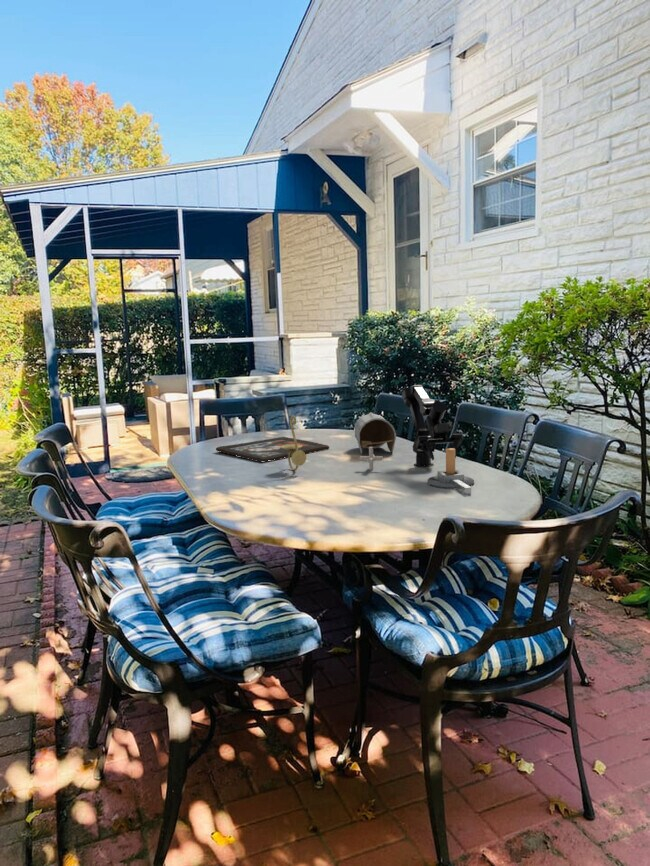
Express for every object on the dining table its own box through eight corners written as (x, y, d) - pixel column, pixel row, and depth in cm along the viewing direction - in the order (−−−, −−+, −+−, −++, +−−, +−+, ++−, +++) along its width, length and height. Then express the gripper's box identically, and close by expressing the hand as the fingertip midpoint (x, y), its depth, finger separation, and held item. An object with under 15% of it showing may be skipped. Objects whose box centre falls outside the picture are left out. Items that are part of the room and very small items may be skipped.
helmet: (398, 457, 309) (387, 443, 339) (398, 419, 306) (386, 409, 335) (360, 459, 308) (351, 445, 337) (359, 421, 304) (351, 410, 333)
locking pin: (446, 479, 256) (446, 448, 254) (455, 479, 255) (455, 448, 253) (445, 481, 253) (445, 449, 251) (454, 481, 252) (454, 450, 250)
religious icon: (213, 453, 331) (213, 447, 331) (282, 441, 361) (282, 435, 360) (260, 464, 302) (260, 458, 301) (330, 450, 332) (330, 444, 331)
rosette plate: (421, 479, 262) (421, 469, 261) (463, 476, 265) (463, 466, 264) (444, 496, 235) (444, 485, 235) (491, 492, 238) (491, 481, 238)
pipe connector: (381, 472, 276) (381, 449, 274) (358, 472, 278) (357, 449, 276) (384, 467, 285) (383, 445, 284) (361, 467, 287) (361, 444, 286)
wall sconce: (310, 472, 280) (307, 415, 276) (289, 475, 276) (286, 417, 272) (298, 466, 293) (296, 411, 289) (279, 468, 289) (276, 413, 285)
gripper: (417, 416, 260) (426, 448, 252) (461, 414, 263) (472, 445, 255) (412, 432, 269) (420, 464, 261) (454, 430, 272) (464, 461, 264)
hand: (444, 458), depth 260 cm, fingers open, 9 cm apart
